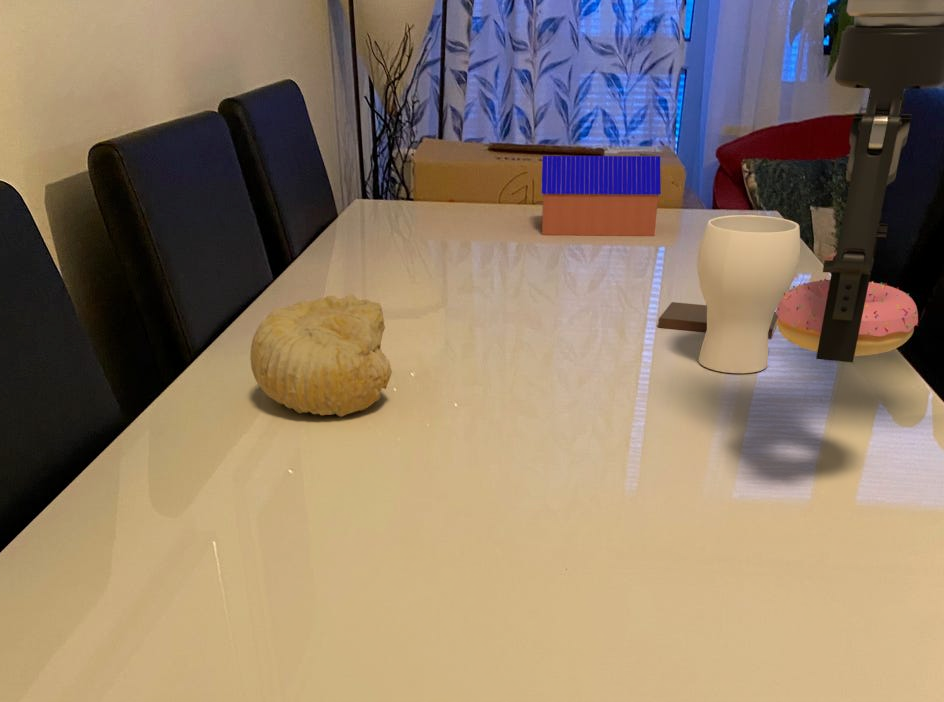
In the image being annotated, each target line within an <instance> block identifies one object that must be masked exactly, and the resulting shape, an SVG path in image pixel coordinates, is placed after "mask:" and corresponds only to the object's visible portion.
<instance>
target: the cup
mask: <svg viewBox="0 0 944 702" xmlns="http://www.w3.org/2000/svg"><path fill="white" fill-rule="evenodd" d="M800 230H801V229H800V224H799V223H797V222H795V221H793V220H790V219H786V218H781V217H776V216H768V215H767V216H766V215H753V214H752V215H751V214H750V215H749V214H736V215H735V214H734V215H722V216H717V217H713V218H711V219H709V220H708V221H707V223H706V226H705V229H704V232H703V234H702V238H701V241H700V244H699V247H698V255H697V263H696V270H697V277H698V282H699V288H700V290H701V294H702V296H703V299H704V302H705V305H707V331H706V332H705V334H704V338H703V341H702V344H701V348H700V352H699V355H698V360H697V361H698V363H699V364H700V365H701V366H702V367H705V368H706V369H710V370H712V371H716V372H721V373H729V374H751V373H756V372H760V371H763V370H766V368H767V367H768V363H769V339H768V331H769V328H770V325H771V321H772V318H773V315H774V312H776V310H777V307H778V305H779V303H780V301H781V300H782V298H783V297H784V293H785V294H786V293H787V292H788V291H789V290H790V288H791V286H792V284H793V282H794V280H795V277H796V275H797V272H798V267H799V261H800V256H801V231H800Z"/></svg>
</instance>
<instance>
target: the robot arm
mask: <svg viewBox="0 0 944 702" xmlns="http://www.w3.org/2000/svg"><path fill="white" fill-rule="evenodd" d="M846 13H847V14H848V16H850V17H854V19H853V20H854V22H853V25H846V27H845V30H843V31H841V39H840V43H839V49H838V54H837V55H838V56H837V61H836V62H837V63H836V66H835V67H836V68H835V74H834V80H835V82H836V84H837V85H839V86H841V87H844V88H850V89H868V90H869V93H868V100H867V103H866V109H865V112H864V113H863V112H862V113H861V112H855V113H854V116H853V117H852V120H851V121H852V122H851V127H850V131H849V140H848V143H849V145H850V150H849V154H848V155H849V156H848V160H847V165H846V171H845V179H846V181H848V183H849V186H848V191H847V195H846V201H845V205H844V212H843V216H842V221H841V226H840V232H839V237H838V242H837V248H836V254H835V255H833V258H832V260H828V259H824V262H823V267H822V273H829V274H830V279H829V280H830V284H829V290H828V296H827V301H826V307H825V312H824V318H823V323H822V329H821V334H820V340H819V345H818V351H817V352H816V356H815V360H820V361H831V362H842V363H853V364H854V359H855V355H854V354H855V349H856V345H857V340H858V335H859V330H860V325H861V320H862V315H863V310H864V305H865V300H866V295H867V290H868V285H869V282H870V279H871V275H872V270H873V266H874V263H875V262H874V261H875V255H876V249H877V246H878V245H877V244H878V241H879V239H878V237H879V238H887V233H888V228H889V223H882V222H881V223H880V221H881V220H882V219H883V218H882V217H883V212H882V210H883V205H884V202H885V201H884V200H885V195H886V192H887V187H888V185H889V184H892V183H893V182H894V181H895V179H896V177H897V176H896V175H897V171H898V169H899V168H898V166H899V162H900V157H901V152H902V149H903V148H904V147H905V146H906V144H907V141H908V136H909V132H910V127H911V126H910V125H911V121H912V116H913V115H912V114H911V113H902V112H903V111H904V108H905V105H906V104H905V98H904V92H905V90H907V89H908V90H909V89H911V90H912V89H914V90H925V89H932V88H937V87H940V86H942V85H943V84H944V0H847V5H846Z"/></svg>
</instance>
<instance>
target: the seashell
mask: <svg viewBox="0 0 944 702" xmlns="http://www.w3.org/2000/svg"><path fill="white" fill-rule="evenodd" d="M385 329H386V326H385V319H384V312H383V308H382V305H381V304H380V302H375V301H371V300H370V299H368V298H363V299H357V297H356V295H355V294H348V295H347V296H345V297H341V298H338V297H336V296H335V295H327V296H325V297H323V298H316V299H314V300H302V301H299V302H295V303H294V304H292V305H287V306H285V307H283V308H281V309H280V308H273V309H272V310H271V311H270V313H269V314H268V315H267V316H266V318H265V319H264V320H263V321H262V322H261V323H260V324H259V325H258V327H257V328H256V331H255V333H254V335H253V337H252V341H251V346H250V357H249V358H250V368H251V372H252V374H253V378H254V379H255V381H256V383H257V384H258V386H259V388H261V390H262V391H263V392H264V394H266V395H267V396H268V397H269V398H271V400H273V401H274V402H276V403H277V404H279V405H284V406H285V407H286V408H288V409H293V411H295V412H296V413H298V414H303V413H304V414H308V413H311V414H312V415H320V416H331V415H336V416H338V417H339V418H342V417H344V416H346V415H349V414H353V413H356V412H358V411H361V412H362V411H364V410H367V409H369V407H370V406H372V405H373V404H374V403H376V402H378V401H379V400H380V399H381V398H382V397H381V391H382V389H384V390H386V389H387V387H388V386H387V385H388V384H389V382H390V379H391V378H392V374H393V370H392V368H391V362H390V360H389V359H388V358H387V356H386V355H385V354H384V352H383V350H382V349H381V346H382V339H383V334H384V331H385Z"/></svg>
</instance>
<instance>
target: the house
mask: <svg viewBox="0 0 944 702" xmlns="http://www.w3.org/2000/svg"><path fill="white" fill-rule="evenodd" d="M661 189H662V188H661V156H660V155H542V167H541V194H542V212H541V214H542V215H541V217H542V218H541V235H542V236H634V237H635V236H636V237H637V236H638V237H639V236H641V237H642V236H643V237H647V236H648V237H649V236H650V237H654V236H655V235H656V225H657V224H656V223H657V214H658V213H657V212H658V205H659V204H658V203H659V195H661V194H662V193H661Z"/></svg>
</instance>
